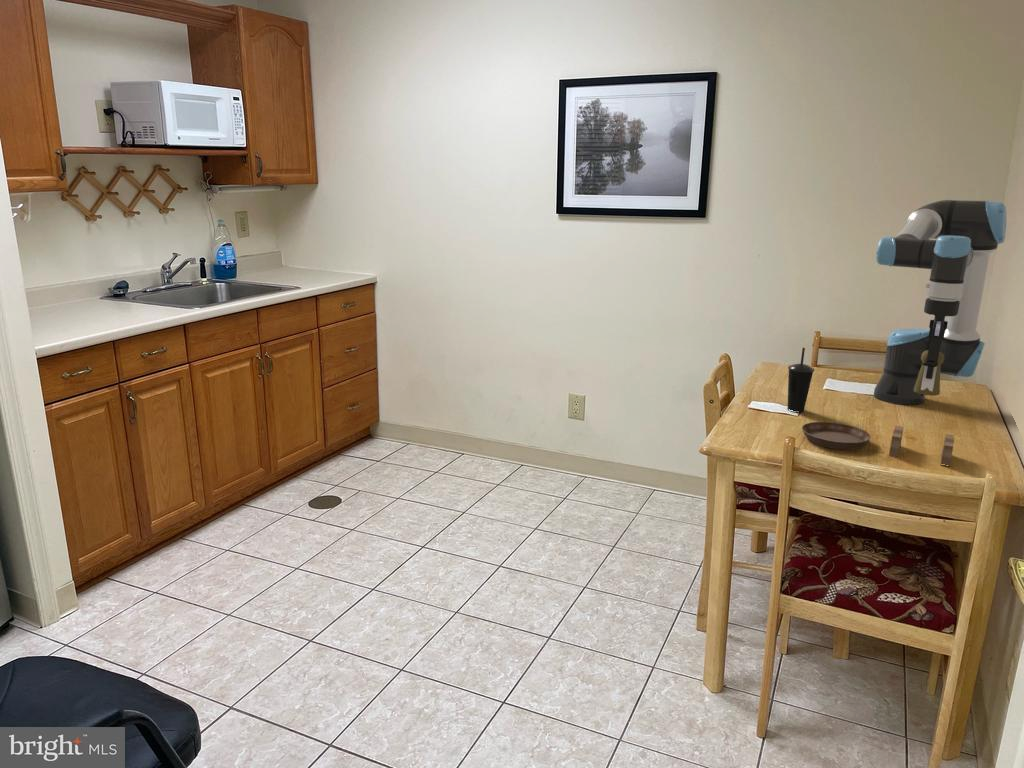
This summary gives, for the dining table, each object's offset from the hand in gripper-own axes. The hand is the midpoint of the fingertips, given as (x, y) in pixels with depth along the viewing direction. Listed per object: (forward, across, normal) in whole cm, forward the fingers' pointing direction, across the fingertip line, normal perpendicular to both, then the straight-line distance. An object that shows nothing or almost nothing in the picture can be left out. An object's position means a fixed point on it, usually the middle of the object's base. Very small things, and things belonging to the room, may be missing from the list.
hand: (927, 387), depth 194 cm
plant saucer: (+19, 0, -20) cm, 28 cm away
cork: (+1, 0, 0) cm, 1 cm away
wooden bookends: (+19, 0, +1) cm, 19 cm away
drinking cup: (+19, -22, -34) cm, 45 cm away
